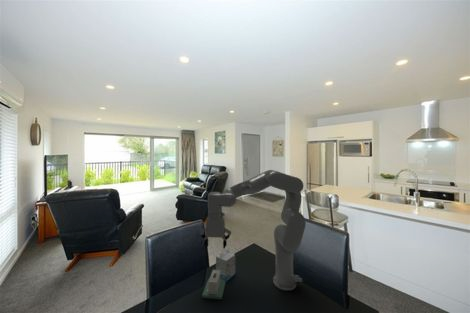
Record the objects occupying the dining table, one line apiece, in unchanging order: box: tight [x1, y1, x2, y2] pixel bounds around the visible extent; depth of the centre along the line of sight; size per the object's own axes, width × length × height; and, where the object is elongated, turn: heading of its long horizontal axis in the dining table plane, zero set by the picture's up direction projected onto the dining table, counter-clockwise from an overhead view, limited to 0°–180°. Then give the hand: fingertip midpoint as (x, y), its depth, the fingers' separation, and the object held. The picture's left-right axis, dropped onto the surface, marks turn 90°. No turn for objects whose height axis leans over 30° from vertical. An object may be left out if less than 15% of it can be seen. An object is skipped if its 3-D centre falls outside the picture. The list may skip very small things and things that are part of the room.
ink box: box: [215, 249, 236, 282], centre depth 103 cm, size 9×8×13 cm
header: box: [201, 278, 227, 300], centre depth 91 cm, size 10×12×6 cm
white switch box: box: [208, 269, 222, 295], centre depth 91 cm, size 4×9×7 cm, turn 173°
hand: (215, 247), depth 92 cm, fingers open, 9 cm apart
